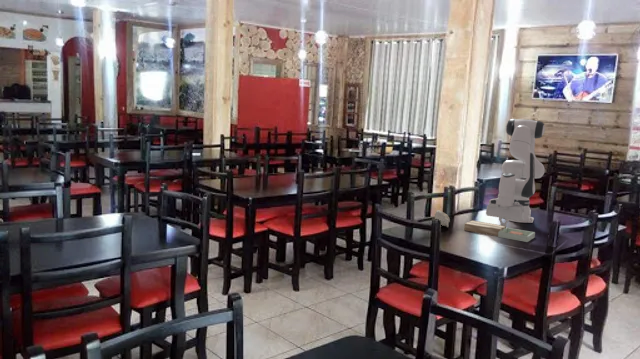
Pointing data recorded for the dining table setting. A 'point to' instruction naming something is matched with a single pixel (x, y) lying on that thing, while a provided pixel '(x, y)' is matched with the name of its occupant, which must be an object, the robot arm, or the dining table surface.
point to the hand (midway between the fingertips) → (503, 225)
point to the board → (483, 227)
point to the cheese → (442, 218)
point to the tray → (526, 234)
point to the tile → (516, 233)
